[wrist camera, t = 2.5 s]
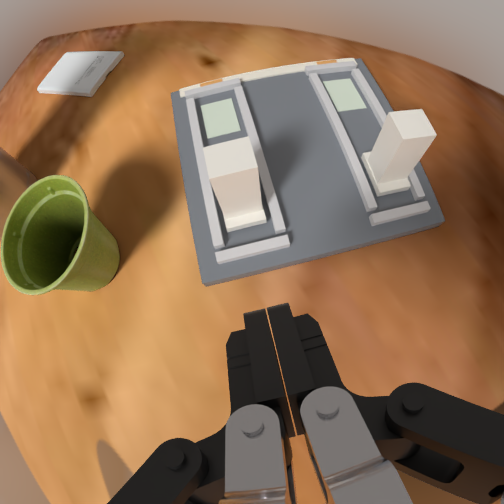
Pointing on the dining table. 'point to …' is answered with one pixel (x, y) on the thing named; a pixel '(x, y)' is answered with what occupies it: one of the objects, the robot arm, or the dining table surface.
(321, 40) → the dining table surface
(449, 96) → the dining table surface
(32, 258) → the plant pot
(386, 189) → the tab
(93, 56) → the external hard drive
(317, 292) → the dining table surface
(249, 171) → the tab
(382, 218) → the switch board
